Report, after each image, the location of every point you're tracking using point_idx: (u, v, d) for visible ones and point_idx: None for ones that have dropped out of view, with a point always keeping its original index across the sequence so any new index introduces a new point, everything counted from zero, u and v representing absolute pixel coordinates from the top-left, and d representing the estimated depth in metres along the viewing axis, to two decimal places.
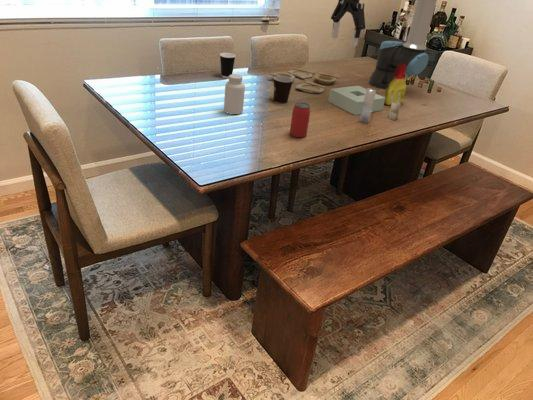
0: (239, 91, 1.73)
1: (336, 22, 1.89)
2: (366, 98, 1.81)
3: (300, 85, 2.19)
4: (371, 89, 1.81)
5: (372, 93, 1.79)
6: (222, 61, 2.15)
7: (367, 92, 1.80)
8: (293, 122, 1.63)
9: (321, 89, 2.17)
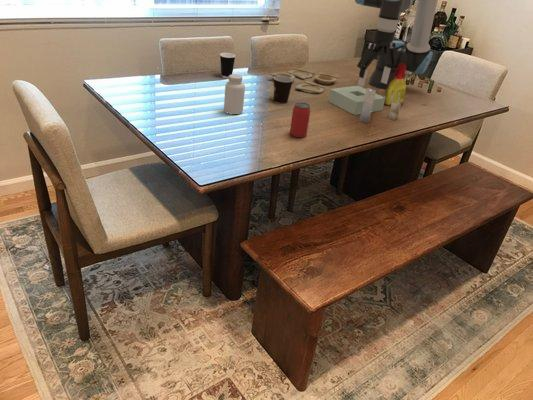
0: (239, 91, 1.73)
1: (386, 67, 1.80)
2: (366, 98, 1.81)
3: (300, 85, 2.19)
4: (371, 89, 1.81)
5: (372, 93, 1.79)
6: (222, 61, 2.15)
7: (367, 92, 1.80)
8: (293, 122, 1.63)
9: (321, 89, 2.17)
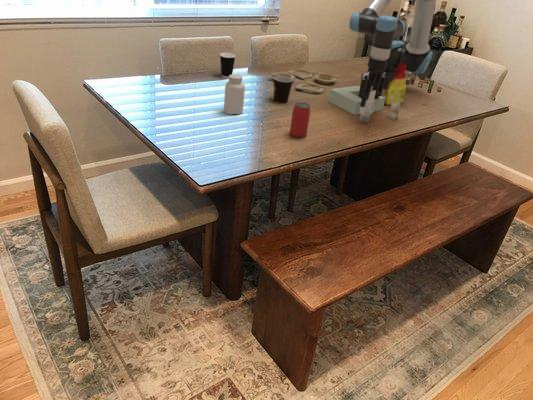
0: (239, 91, 1.73)
1: None
2: None
3: (300, 85, 2.19)
4: (371, 89, 1.81)
5: (372, 93, 1.79)
6: (222, 61, 2.15)
7: None
8: (293, 122, 1.63)
9: (321, 89, 2.17)
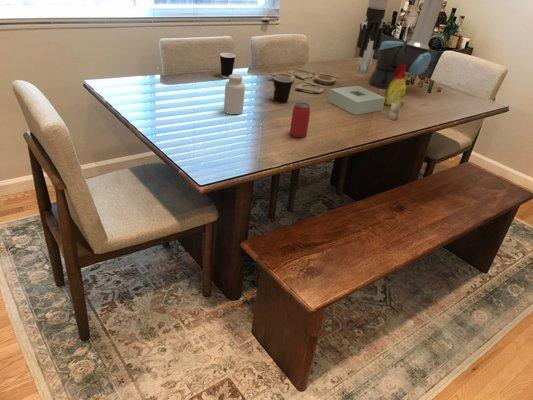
0: (239, 91, 1.73)
1: None
2: None
3: (300, 85, 2.19)
4: (369, 40, 1.88)
5: (370, 43, 1.87)
6: (222, 61, 2.15)
7: None
8: (293, 122, 1.63)
9: (321, 89, 2.17)
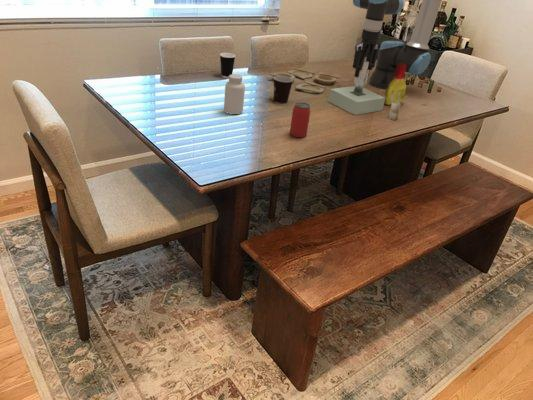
0: (239, 91, 1.73)
1: None
2: None
3: (300, 85, 2.19)
4: (364, 60, 1.93)
5: (365, 64, 1.92)
6: (222, 61, 2.15)
7: None
8: (293, 122, 1.63)
9: (321, 89, 2.17)
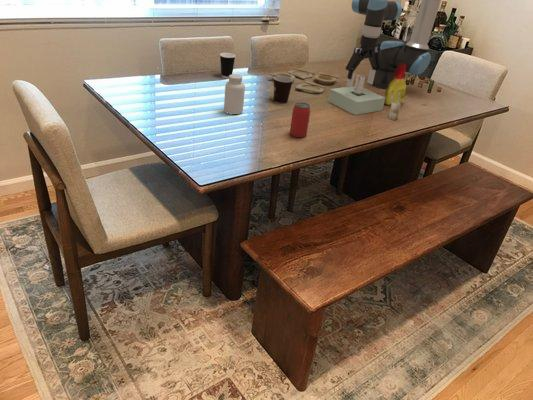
0: (239, 91, 1.73)
1: (372, 69, 1.99)
2: (356, 84, 1.97)
3: (300, 85, 2.19)
4: (361, 76, 1.97)
5: (362, 79, 1.95)
6: (222, 61, 2.15)
7: (357, 78, 1.96)
8: (293, 122, 1.63)
9: (321, 89, 2.17)
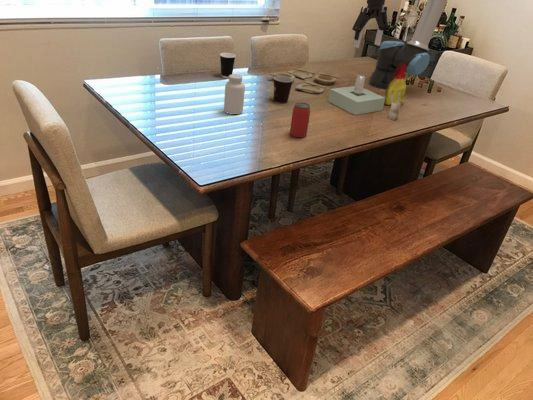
0: (239, 91, 1.73)
1: (379, 30, 1.95)
2: (356, 84, 1.97)
3: (300, 85, 2.19)
4: (361, 76, 1.97)
5: (362, 79, 1.95)
6: (222, 61, 2.15)
7: (357, 78, 1.96)
8: (293, 122, 1.63)
9: (321, 89, 2.17)
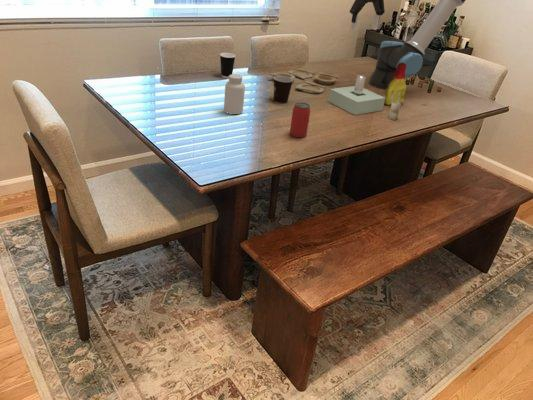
0: (239, 91, 1.73)
1: None
2: (356, 84, 1.97)
3: (300, 85, 2.19)
4: (361, 76, 1.97)
5: (362, 79, 1.95)
6: (222, 61, 2.15)
7: (357, 78, 1.96)
8: (293, 122, 1.63)
9: (321, 89, 2.17)
